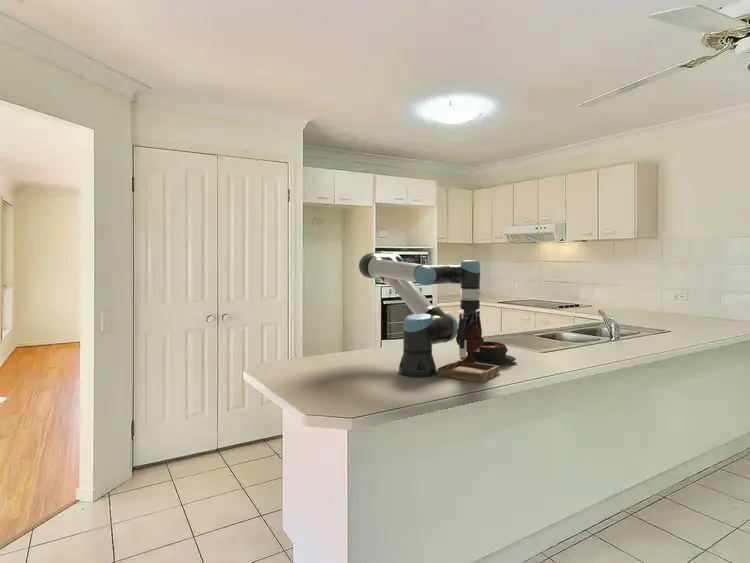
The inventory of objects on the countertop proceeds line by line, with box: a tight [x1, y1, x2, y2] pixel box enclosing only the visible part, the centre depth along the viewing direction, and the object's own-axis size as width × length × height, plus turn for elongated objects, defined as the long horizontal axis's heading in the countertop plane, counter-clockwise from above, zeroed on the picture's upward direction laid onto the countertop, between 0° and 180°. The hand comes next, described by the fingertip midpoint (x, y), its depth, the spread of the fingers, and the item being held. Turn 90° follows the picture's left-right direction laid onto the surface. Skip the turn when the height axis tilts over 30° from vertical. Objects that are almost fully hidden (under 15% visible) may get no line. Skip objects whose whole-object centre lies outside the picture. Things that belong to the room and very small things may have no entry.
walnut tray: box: [437, 359, 500, 383], centre depth 189 cm, size 18×18×3 cm
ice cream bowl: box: [455, 325, 485, 363], centre depth 189 cm, size 11×11×15 cm
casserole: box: [459, 340, 516, 366], centre depth 210 cm, size 25×19×8 cm
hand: (469, 353), depth 189 cm, fingers closed on ice cream bowl, 11 cm apart
